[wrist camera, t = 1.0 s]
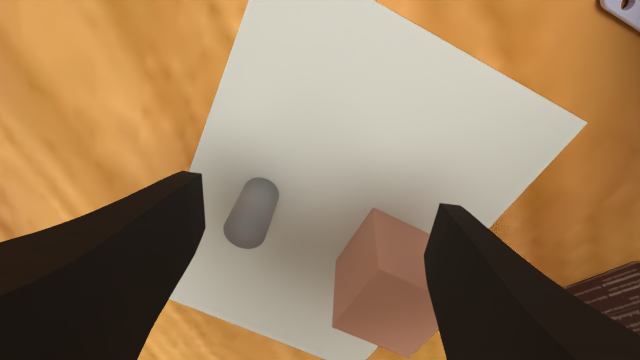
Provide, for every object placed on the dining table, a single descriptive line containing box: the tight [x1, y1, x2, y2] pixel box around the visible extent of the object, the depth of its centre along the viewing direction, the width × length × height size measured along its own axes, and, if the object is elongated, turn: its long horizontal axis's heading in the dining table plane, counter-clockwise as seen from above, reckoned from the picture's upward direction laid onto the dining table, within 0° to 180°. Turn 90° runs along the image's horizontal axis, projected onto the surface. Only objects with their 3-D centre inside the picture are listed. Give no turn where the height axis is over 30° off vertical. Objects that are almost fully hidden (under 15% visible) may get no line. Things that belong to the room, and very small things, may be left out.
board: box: [169, 0, 587, 360], centre depth 20 cm, size 16×22×5 cm
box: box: [564, 262, 640, 335], centre depth 20 cm, size 6×6×7 cm
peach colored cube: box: [332, 208, 439, 358], centre depth 19 cm, size 4×4×5 cm
